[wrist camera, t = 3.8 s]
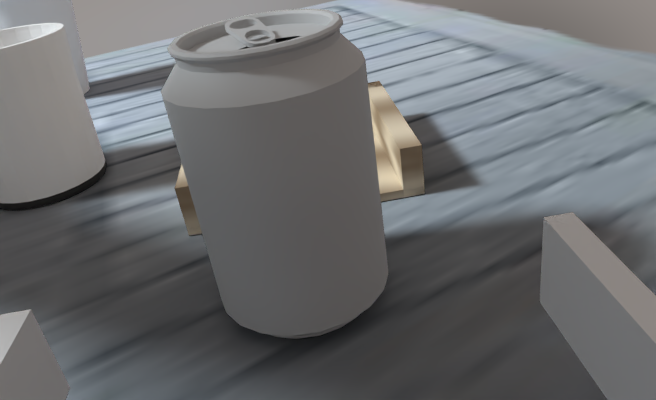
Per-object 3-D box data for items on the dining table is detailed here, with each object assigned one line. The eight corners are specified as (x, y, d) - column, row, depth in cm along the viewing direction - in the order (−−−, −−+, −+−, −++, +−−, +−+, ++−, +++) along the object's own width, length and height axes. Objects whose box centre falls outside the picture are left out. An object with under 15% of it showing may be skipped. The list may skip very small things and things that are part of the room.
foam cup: (33, 89, 67) (-14, -29, 61) (112, 76, 67) (72, -43, 61) (0, 117, 58) (-59, -17, 52) (90, 102, 59) (42, -33, 52)
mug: (137, 167, 42) (90, 23, 37) (21, 226, 36) (-54, 65, 31) (61, 146, 48) (11, 21, 43) (-49, 193, 42) (-120, 55, 37)
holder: (424, 193, 32) (421, 144, 31) (189, 235, 32) (174, 188, 30) (383, 119, 43) (379, 81, 41) (206, 150, 43) (196, 112, 41)
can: (266, 382, 21) (183, 69, 16) (202, 287, 27) (125, 35, 22) (425, 300, 24) (403, 10, 19) (336, 229, 30) (299, -7, 24)
